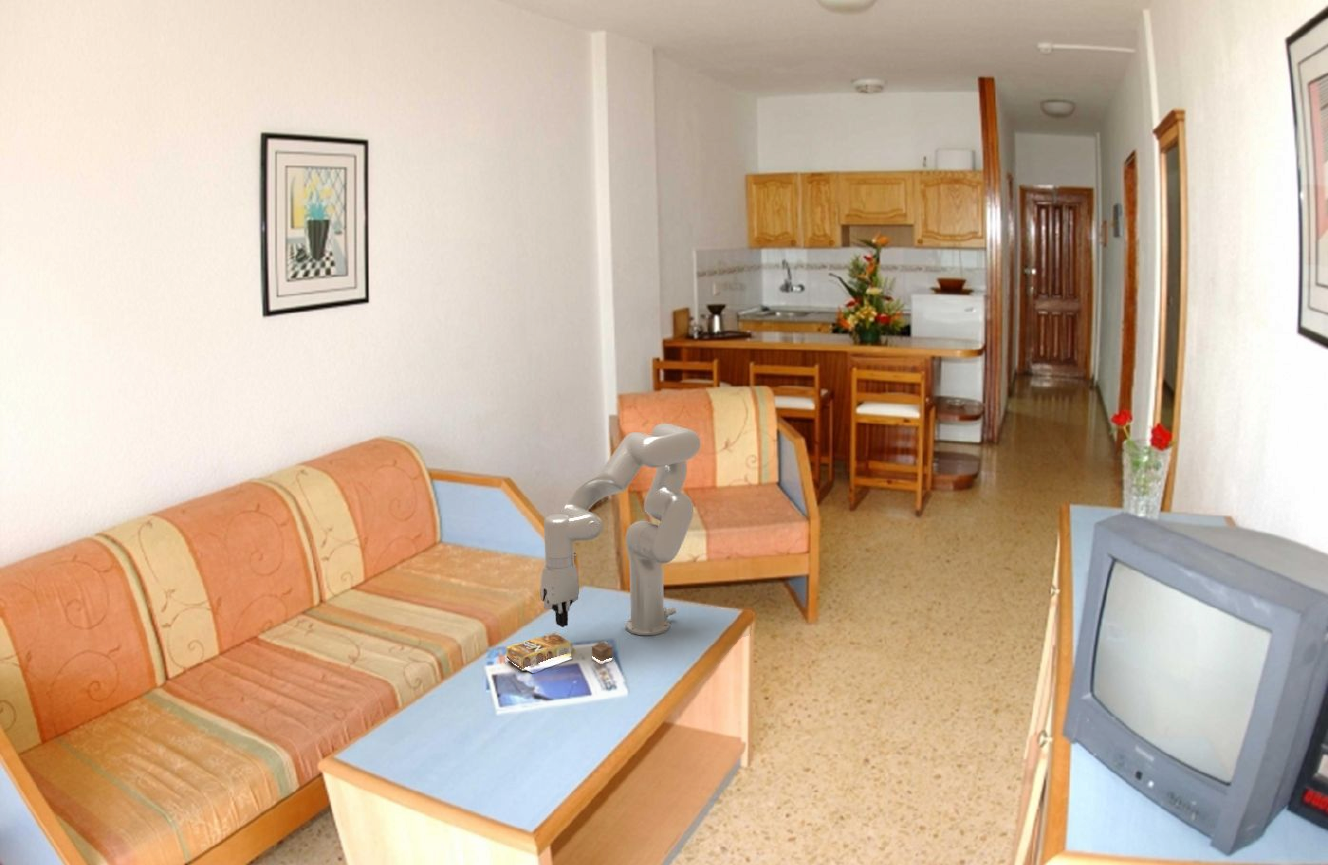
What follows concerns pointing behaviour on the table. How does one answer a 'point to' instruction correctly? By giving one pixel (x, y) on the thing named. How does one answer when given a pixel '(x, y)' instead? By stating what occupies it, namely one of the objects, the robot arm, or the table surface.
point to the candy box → (538, 650)
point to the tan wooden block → (602, 651)
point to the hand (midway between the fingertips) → (562, 624)
